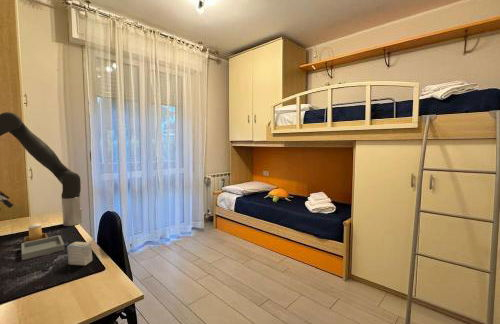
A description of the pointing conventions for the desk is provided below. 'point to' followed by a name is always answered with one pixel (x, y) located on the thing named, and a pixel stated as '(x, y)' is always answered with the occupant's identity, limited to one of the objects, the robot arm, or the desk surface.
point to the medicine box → (79, 253)
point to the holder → (38, 239)
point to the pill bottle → (35, 231)
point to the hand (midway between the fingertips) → (5, 208)
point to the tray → (42, 247)
